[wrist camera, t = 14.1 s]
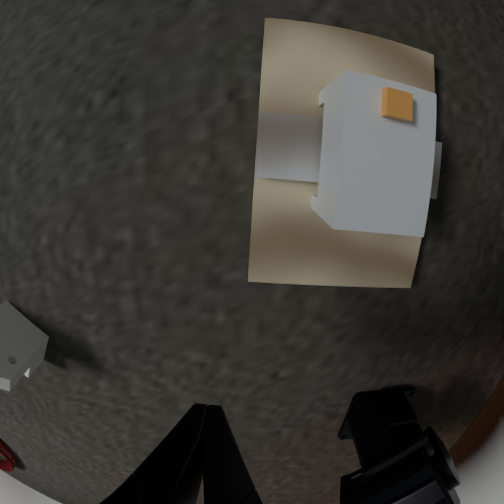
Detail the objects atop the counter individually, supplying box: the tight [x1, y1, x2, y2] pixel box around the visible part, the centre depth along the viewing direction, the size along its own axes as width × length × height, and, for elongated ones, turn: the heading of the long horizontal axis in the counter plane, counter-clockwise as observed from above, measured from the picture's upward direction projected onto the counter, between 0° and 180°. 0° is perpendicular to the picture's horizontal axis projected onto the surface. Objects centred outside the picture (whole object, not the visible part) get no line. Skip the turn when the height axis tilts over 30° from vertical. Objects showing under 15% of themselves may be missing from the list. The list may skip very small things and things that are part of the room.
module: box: [311, 70, 436, 237], centre depth 13 cm, size 7×4×6 cm
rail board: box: [248, 18, 442, 288], centre depth 16 cm, size 16×11×2 cm
